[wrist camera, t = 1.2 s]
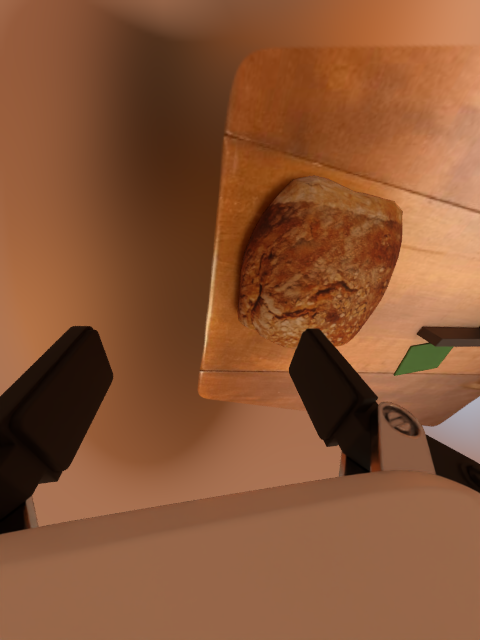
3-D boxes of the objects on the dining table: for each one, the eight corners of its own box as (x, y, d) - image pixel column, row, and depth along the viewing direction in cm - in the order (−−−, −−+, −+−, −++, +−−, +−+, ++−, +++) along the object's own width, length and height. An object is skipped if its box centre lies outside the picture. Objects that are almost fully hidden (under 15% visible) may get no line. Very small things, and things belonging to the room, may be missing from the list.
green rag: (410, 346, 42) (412, 346, 42) (458, 337, 43) (460, 338, 43) (393, 374, 48) (394, 375, 47) (435, 367, 49) (437, 367, 48)
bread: (231, 311, 30) (241, 355, 22) (254, 166, 20) (288, 147, 12) (341, 318, 34) (384, 357, 26) (404, 201, 24) (504, 206, 16)
